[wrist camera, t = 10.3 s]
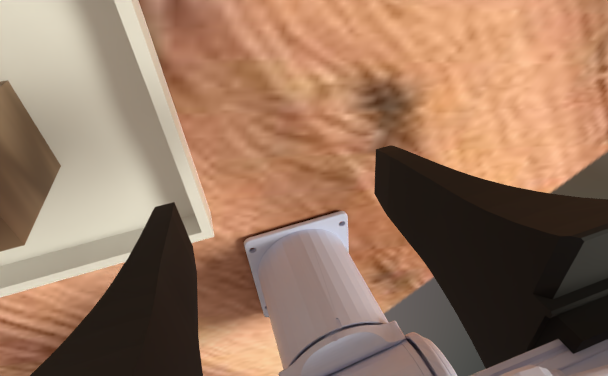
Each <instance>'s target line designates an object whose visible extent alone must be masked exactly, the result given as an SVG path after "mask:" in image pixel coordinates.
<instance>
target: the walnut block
mask: <svg viewBox="0 0 608 376" xmlns="http://www.w3.org/2000/svg"><path fill="white" fill-rule="evenodd" d="M60 167H61V165H60V163H59V162H58V160H57V158H56V157H55V155H54V154H53V152H52V150H51V149H50V147H49V146H48V144H47V142H46V141H45V139H44V138H43V136H42V134H41V133H40V131H39V129H38V128H37V126H36V125H35V123H34V121H33V120H32V118H31V117H30V115H29V113H28V112H27V110H26V109H25V107H24V105H23V104H22V102H21V100H20V99H19V97H18V96H17V94H16V92H15V91H14V89H13V88H12V86H11V84H10V83H9V81H8V80H7V81H1V82H0V252H1V251H5V250H8V249H12V248H16V247H20V246H24V245H25V243H26V241H27V239H28V237H29V234H30V232H31V230H32V228H33V226H34V224H35V221H36V219H37V217H38V215H39V213H40V210H41V208H42V206H43V204H44V202H45V200H46V197H47V195H48V193H49V191H50V189H51V187H52V184H53V182H54V180H55V178H56V176H57V174H58V171H59V169H60Z"/></svg>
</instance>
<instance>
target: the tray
mask: <svg viewBox="0 0 608 376" xmlns="http://www.w3.org/2000/svg"><path fill="white" fill-rule="evenodd" d="M7 80H8V81H9V83H10V84H11V86H12V88H13V89H14V91H15V92H16V94H17V96H18V97H19V99H20V100H21V102H22V104H23V105H24V107H25V109H26V110H27V112H28V113H29V115H30V117H31V118H32V120H33V121H34V123H35V125H36V126H37V128H38V129H39V131H40V133H41V134H42V136H43V138H44V139H45V141H46V142H47V144H48V146H49V147H50V149H51V150H52V152H53V154H54V155H55V157H56V158H57V160H58V162H59V163H60V165H61V167H60V169H59V171H58V174H57V176H56V178H55V180H54V182H53V184H52V187H51V189H50V191H49V193H48V195H47V197H46V200H45V202H44V204H43V206H42V208H41V210H40V213H39V215H38V217H37V219H36V221H35V224H34V226H33V228H32V230H31V232H30V234H29V237H28V239H27V241H26V243H25V245H24V246H20V247H16V248H12V249H8V250H5V251H1V252H0V297H4V296H7V295H11V294H14V293H18V292H21V291H25V290H28V289H32V288H36V287H39V286H43V285H46V284H50V283H53V282H57V281H60V280H64V279H67V278H71V277H74V276H78V275H81V274H85V273H88V272H92V271H95V270H99V269H102V268H106V267H109V266H113V265H116V264H120V263H123V262H126V260H127V259H128V257H129V255H130V253H131V252H132V250H133V248H134V246H135V244H136V243H137V241H138V239H139V237H140V235H141V233H142V231H143V229H144V227H145V225H146V223H147V221H148V219H149V217H150V215H151V213H152V211H153V209H154V208H155V207H157V206H161V205H165V204H168V203H172V202H175V205H176V207H177V210H178V212H179V214H180V217H181V219H182V222H183V224H184V226H185V229H186V231H187V234H188V236H189V239H190V241H191V243H194V242H197V241H201V240H204V239H208V238H211V237H214V231H213V225H212V219H211V212H210V209H209V206H208V203H207V200H206V197H205V194H204V191H203V188H202V186H201V183H200V180H199V177H198V174H197V171H196V168H195V165H194V162H193V159H192V156H191V153H190V150H189V147H188V144H187V142H186V139H185V136H184V133H183V130H182V127H181V124H180V121H179V118H178V115H177V112H176V109H175V106H174V103H173V101H172V98H171V95H170V92H169V89H168V86H167V83H166V80H165V77H164V74H163V71H162V68H161V65H160V62H159V59H158V57H157V54H156V51H155V48H154V45H153V42H152V39H151V36H150V33H149V30H148V27H147V24H146V21H145V18H144V16H143V13H142V10H141V7H140V4H139V1H138V0H0V82H1V81H7Z"/></svg>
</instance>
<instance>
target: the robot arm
mask: <svg viewBox="0 0 608 376" xmlns="http://www.w3.org/2000/svg"><path fill="white" fill-rule="evenodd" d="M375 195H376V197H377V199H378V201H379V202H380V204H381V206H382V208H383V209H384V211H385V213H386V214H387V216H388V217H389V218H390V220H391V221H392V222H393V223H394V225H395V226H396V227H397V228H398V230H399V231H400V232H401V233H402V235H403V236H404V237H405V238H406V240H407V241H408V242H409V243H410V245H411V246H412V247H413V248H414V250H415V251H416V252H417V253H418V255H419V256H420V257H421V258H422V260H423V261H424V262H425V264H426V265H427V267H428V268H429V269H430V271H431V273H432V274H433V276H434V277H435V279H436V280H437V282H438V284H439V285H440V287H441V288H442V290H443V292H444V293H445V295H446V297H447V298H448V300H449V301H450V303H451V305H452V307H453V308H454V310H455V312H456V313H457V315H458V317H459V319H460V321H461V322H462V324H463V326H464V328H465V330H466V331H467V333H468V335H469V337H470V339H471V340H472V342H473V344H474V346H475V348H476V350H477V352H478V354H479V356H480V358H481V360H482V362H483V364H484V366H485V368H486V369H485V370H482V371H480V372H478V373H475V374H473V375H470V376H608V200H606V199H593V198H580V197H571V196H564V195H556V194H549V193H543V192H537V191H532V190H527V189H521V188H516V187H512V186H507V185H503V184H499V183H496V182H492V181H488V180H484V179H481V178H478V177H474V176H471V175H468V174H465V173H462V172H459V171H456V170H454V169H451V168H448V167H446V166H443V165H440V164H438V163H435V162H433V161H430V160H428V159H425V158H423V157H420V156H418V155H416V154H413V153H411V152H408V151H406V150H403V149H400V148H398V147H395V146H387V147H383V148H380V149H376V166H375ZM341 221H342V222H341ZM340 222H341V223H340ZM244 247H245V251H246V254H247V258H248V261H249V265H250V268H251V272H252V275H253V279H254V282H255V286H256V289H257V293H258V296H259V300H260V303H261V307H262V310H263V313H264V316H265V317H270V321H271V325H272V329H273V332H274V336H275V340H276V343H277V347H278V351H279V354H280V358H281V362H282V365H283V369H284V370H282V371H281V372H279V376H457V374H456V373H455V371H454V369H453V368H452V366H451V365H450V363H449V362H448V360H447V359H446V358H445V356H444V355H443V354H442V352H441V351H440V350H439V349H438V348H437V346H436V345H435V344H434V343H433V342H431V341H430V340H429V339H427V338H424V337H422V336H420V335H419V334H417V333H415V332H412V333H409V334H407V335H404V334H403V332H402V331H401V329H400V328H399V326H398V324H397V322H396V321H391V322H389V323H388V321H387V319H386V317H385V316H384V314H383V312H382V310H381V309H380V307H379V305H378V304H377V302H376V300H375V298H374V297H373V295H372V293H371V291H370V290H369V288H368V286H367V284H366V283H365V281H364V279H363V277H362V276H361V274H360V272H359V271H358V269H357V267H356V265H355V264H354V262H353V260H352V258H351V257H350V255H349V246H348V216H347V214H346V213H345V212H344V211H339V212H335V213H332V214H329V215H325V216H322V217H318V218H315V219H311V220H308V221H305V222H301V223H298V224H294V225H291V226H287V227H284V228H280V229H277V230H274V231H270V232H267V233H263V234H260V235H256V236H253V237H249V238H247V239H246V240H245V241H244ZM251 248H254V249H251ZM30 376H203V373H202V366H201V358H200V350H199V339H198V307H197V271H196V265H195V258H194V252H193V246H192V243H191V241H190V239H189V236H188V234H187V231H186V229H185V226H184V224H183V222H182V219H181V217H180V214H179V212H178V210H177V207H176V205H175V202H172V203H168V204H165V205H161V206H157V207H155V208H154V209H153V211H152V213H151V215H150V217H149V219H148V221H147V223H146V225H145V227H144V229H143V231H142V233H141V235H140V237H139V239H138V241H137V243H136V244H135V246H134V248H133V250H132V252H131V253H130V255H129V257H128V259H127V260H126V262H125V263H124V265H123V267H122V268H121V270H120V271H119V273H118V275H117V276H116V278H115V279H114V281H113V282H112V284H111V285H110V287H109V288H108V290H107V291H106V292H105V294H104V295H103V296H102V298H101V299H100V300H99V302H98V303H97V304H96V305H95V307H94V308H93V309H92V310H91V312H90V313H89V314H88V315H87V316H86V317H85V319H84V320H83V321H82V322H81V323H80V324H79V325H78V327H77V328H76V329H75V330H74V331H73V332H72V333H71V335H70V336H69V337H68V338H67V339H66V340H65V341H64V342H63V343H62V344H61V345H60V346H59V347H58V348H57V349H56V351H55V352H54V353H53V354H52V355H51V356H50V357H49V358H48V359H47V360H46V361H45V362H44V363H43V364H42V365H40V366H39V367H38V368H37V369H36V370H35V371H34V372H33V373H32V374H31V375H30Z"/></svg>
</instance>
